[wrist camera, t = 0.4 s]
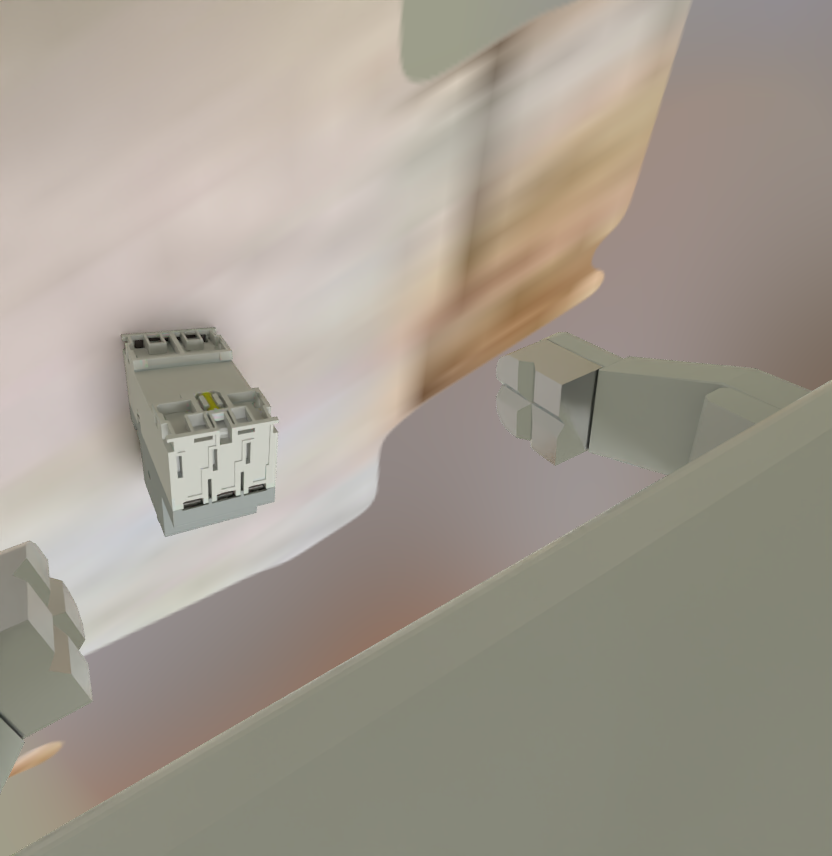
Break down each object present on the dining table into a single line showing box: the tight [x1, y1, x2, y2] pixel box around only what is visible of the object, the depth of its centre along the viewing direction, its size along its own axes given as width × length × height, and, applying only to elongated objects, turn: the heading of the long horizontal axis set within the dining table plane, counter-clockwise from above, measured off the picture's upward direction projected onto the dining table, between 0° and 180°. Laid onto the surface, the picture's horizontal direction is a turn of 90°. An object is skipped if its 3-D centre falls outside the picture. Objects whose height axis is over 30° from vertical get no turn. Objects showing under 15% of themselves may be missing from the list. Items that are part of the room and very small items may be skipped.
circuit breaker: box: [121, 327, 279, 537], centre depth 46 cm, size 8×14×15 cm, turn 168°
